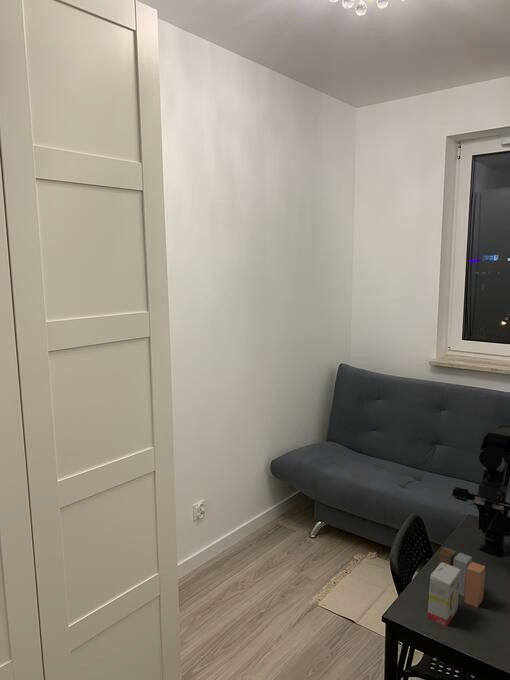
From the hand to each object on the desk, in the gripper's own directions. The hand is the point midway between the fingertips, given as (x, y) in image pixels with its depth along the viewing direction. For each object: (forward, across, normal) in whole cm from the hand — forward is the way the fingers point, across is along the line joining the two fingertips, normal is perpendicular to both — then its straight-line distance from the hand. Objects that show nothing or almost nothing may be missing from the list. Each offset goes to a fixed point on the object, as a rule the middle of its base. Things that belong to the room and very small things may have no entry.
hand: (484, 533), depth 139 cm
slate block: (+16, -3, -4) cm, 16 cm away
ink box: (+23, -5, -14) cm, 27 cm away
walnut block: (+16, -7, -3) cm, 17 cm away
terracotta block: (+17, +1, -6) cm, 18 cm away
